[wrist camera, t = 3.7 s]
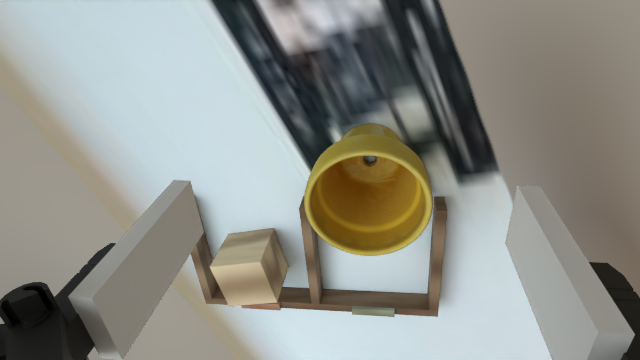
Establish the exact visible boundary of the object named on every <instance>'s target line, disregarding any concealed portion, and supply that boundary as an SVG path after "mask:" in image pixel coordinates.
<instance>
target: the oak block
mask: <svg viewBox="0 0 640 360" xmlns="http://www.w3.org/2000/svg"><path fill="white" fill-rule="evenodd" d="M210 269H211V271H212V273H213V275H214V277H215V279H216V281H217V283H218V285H219V287H220V289H221V291H222V293H223V295H224V297H225V299H226V301H227V303H228V305H229V306H238V305H251V304H264V303H277V301H278V298H279V295H280V292H281V289H282V286H283V282H284V279H285V276H286V273H287V270H288V264H287V261H286V259H285V256H284V253H283V251H282V248H281V245H280V243H279V240H278V238H277V235H276V232H275V230H274V228H270V229H263V230H255V231H247V232H239V233H232V234H228V235H227V237H226V239H225V241H224V242H223V244H222V246H221V248H220V249H219V251H218V253H217V255H216V257H215V258H214V260H213V262H212V264H211V265H210Z"/></svg>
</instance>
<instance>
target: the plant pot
mask: <svg viewBox="0 0 640 360" xmlns="http://www.w3.org/2000/svg"><path fill="white" fill-rule="evenodd" d="M364 156H376V161H375V162H373V163H366V162H365V161H364ZM304 206H305V212H306V215H307V218H308V220H309V222H310V224H311V226H312V227H313V229H314V230H315V231H316V233H317V234H318V235H319V236H320V237H321V238H322V239H324V240H325V241H326V242H327V243H329V244H331V245H332V246H334V247H336V248H338V249H340V250H342V251H345V252H348V253H352V254H356V255H365V256H376V255H383V254H388V253H392V252H395V251H397V250H400V249H402V248H404V247H406V246H407V245H409V244H410V243H412V242H413V241H414V240H416V239H417V238H418V237H419V236H420V235H421V233H422V232H423V231H424V229H425V228H426V226H427V224H428V223H429V220H430V217H431V214H432V207H433V198H432V191H431V186H430V182H429V178H428V175H427V172H426V169H425V167H424V165H423V163H422V161H421V160H420V159H419V157H418V156H417V155H416V154H415V153H414V152H413V151H412V150H411V149H410V148H409V147H408V146H406V145H405V144H403V143H402V142H401V140H400V139H399V138H398V136H397V135H396V134H395V133H394V132H392V131H391V130H390V129H388V128H386V127H384V126H381V125H376V124H364V125H360V126H357V127H354V128H353V129H351V130H349V131H348V132H347V133H346V134H345V135H344V136H343V137H342V139H341V140H340V141H338V142H336V143H335V144H333V145H332V146H330V147H329V148H328V149H327V150H326V151H324V152H323V154H322V155H321V156H320V157H319V158H318V160H317V161H316V163H315V165H314V167H313V169H312V172H311V174H310V177H309V180H308V183H307V186H306V190H305V196H304Z"/></svg>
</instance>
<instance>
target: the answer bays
mask: <svg viewBox="0 0 640 360" xmlns="http://www.w3.org/2000/svg"><path fill="white" fill-rule="evenodd" d="M197 208H198V207H197ZM299 211H300V218H301V226H302V234H303V242H304V249H305V257H306V265H307V272H308V280H309V288H310V289H308V288H288V287H282V289H281V292H280V295H279V298H278V301H277V303H264V304H251V305H241V306H242V308H251V309H268V310H280V309H281V308H295V309H313V310H330V311H348V312H352V314H355V315H372V316H390V317H394V314H401V315H418V316H436V317H438V307H439V296H440V285H441V274H442V263H443V252H444V241H445V230H446V219H447V207H446V203H445V199H444V197H434V208H433V222H432V236H431V251H430V265H429V279H428V294H413V293H392V292H371V291H350V290H329V289H322V280H321V271H320V262H319V253H318V243H317V234H316V231H315V230H314V229H313V227H312V226H311V224H310V222H309V220H308V218H307V215H306V212H305V206H304V196H303V199H302V202H301V205H300V208H299ZM198 212H199V211H198ZM200 219H201V218H200ZM201 223H202V222H201ZM202 227H203V225H202ZM203 230H204V229H203ZM191 256H192V259H193V262H194V265H195V269H196V272H197V275H198V278H199V282H200V285H201V288H202V291H203V294H204V298H205V301H206V303H207V304H224V305H228V303H227V301H226V299H225V297H224V295H223V293H222V291H221V289H220V287H219V285H218V283H217V281H216V279H215V277H214V275H213V273H212V271H211V269H210V265H211V264H212V262H213V261H212V257H211V254H210V250H209V247H208V243H207V240H206V236H205V232H204V233H203V235H202V236H201V238H200V239H199V241H198V242H197V244H196V246H195V247H194V249H193V250H192V252H191Z"/></svg>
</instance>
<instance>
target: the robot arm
mask: <svg viewBox="0 0 640 360" xmlns="http://www.w3.org/2000/svg"><path fill="white" fill-rule="evenodd" d="M203 233H204V230H203V227H202V223H201V219H200V215H199V212H198V208H197V204H196V200H195V197H194V193H193V189H192V185H191V182H190V181H176V180H174V181H173V182H172V183H171V184H170V185H169V186H168V187H167V188H166V189H165V190H164V192H163V193H162V194H161V195H160V196H159V197H158V198H157V199H156V200H155V201H154V203H153V204H152V205H151V206H150V207H149V208H148V209H147V210H146V211H145V212H144V214H143V215H142V216H141V217H140V218H139V219H138V220H137V221H136V222H135V223H134V225H133V226H132V227H131V228H130V229H129V230H128V231H127V232H126V233H125V234H124V236H123V237H122V238H121V239H120V240H119V241H118V242H117V243H110V244H109V245H107V246H106V247H104V248H103V249H101V250H100V251H98V252H97V253H96V254H95V255H94V256H93V257H92V258H91V259H90V260H89V261H88V264H86V265H85V266H84V267H83V268H82V269H81V270H80V272H79V273H77V274H76V275H75V276H74V277H73V278H72V279H71V281H70V282H69V283H68V284H67V285H66V286H65V287H64V288H63V289H62V290H61V291H60V292H59V293H58V294H57V295H56V296H55V297H54V296H53V294H52V293H51V291H50V289H49V287H48V286H47V284H45V283H42V282H33V283H29V284H25V285H23V286H20V287H18V288H16V289H14V290H12V291H11V292H9V293H8V294H6V295H5V296H4V297H3V298H2V299H1V300H0V317H1V318H2V320H3V321H4V323H5V324H0V360H89V359H88V357H87V356H88V354H89V353H90V351H91V350H92V349H93V347H94V346H95V348H96V350H97V352H98V354H99V355H100V357H101V358H105V359H117V360H123V359H124V357H125V355H126V354H127V352H128V351H129V349H130V348H131V346H132V344H133V343H134V341H135V340H136V338H137V337H138V335H139V333H140V332H141V330H142V329H143V327H144V326H145V324H146V322H147V321H148V319H149V318H150V316H151V315H152V313H153V311H154V309H155V308H156V307H157V305H158V304H159V302H160V300H161V299H162V297H163V296H164V294H165V293H166V291H167V290H168V288H169V286H170V285H171V283H172V282H173V280H174V279H175V277H176V275H177V274H178V272H179V271H180V269H181V268H182V266H183V264H184V263H185V261H186V260H187V258H188V257H189V255H190V253H191V252H192V250H193V249H194V247H195V246H196V244H197V242H198V241H199V239H200V238H201V236H202V235H203ZM505 244H506V246H507V248H508V251H509V253H510V256H511V258H512V261H513V263H514V266H515V268H516V271H517V273H518V276H519V278H520V281H521V283H522V286H523V288H524V291H525V293H526V296H527V298H528V301H529V303H530V306H531V308H532V310H533V313H534V315H535V318H536V320H537V323H538V325H539V328H540V330H541V333H542V335H543V338H544V340H545V343H546V345H547V348H548V350H549V353H550V355H551V358H552V360H640V298H639V296H638V295H637V293H636V292H634V291H633V288H632V286H631V285H630V284H629V282H628V281H627V280H626V278H625V277H624V276H623V275H622V274H621V273H620V272H618V271H617V270H616V269H614V268H613V267H612V266H611V265H609V264H608V263H594V262H588V261H587V259H586V258H585V256H584V255H583V253H582V251H581V250H580V248H579V247H578V245H577V244H576V242H575V240H574V239H573V237H572V236H571V234H570V233H569V231H568V230H567V228H566V226H565V225H564V223H563V222H562V220H561V219H560V217H559V215H558V214H557V212H556V211H555V209H554V208H553V206H552V205H551V203H550V201H549V200H548V198H547V197H546V195H545V194H544V192H543V191H542V189H541V188H540V186H525V185H524V186H523V185H518V186H517V191H516V195H515V199H514V204H513V209H512V214H511V218H510V223H509V228H508V233H507V237H506V242H505Z"/></svg>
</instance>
